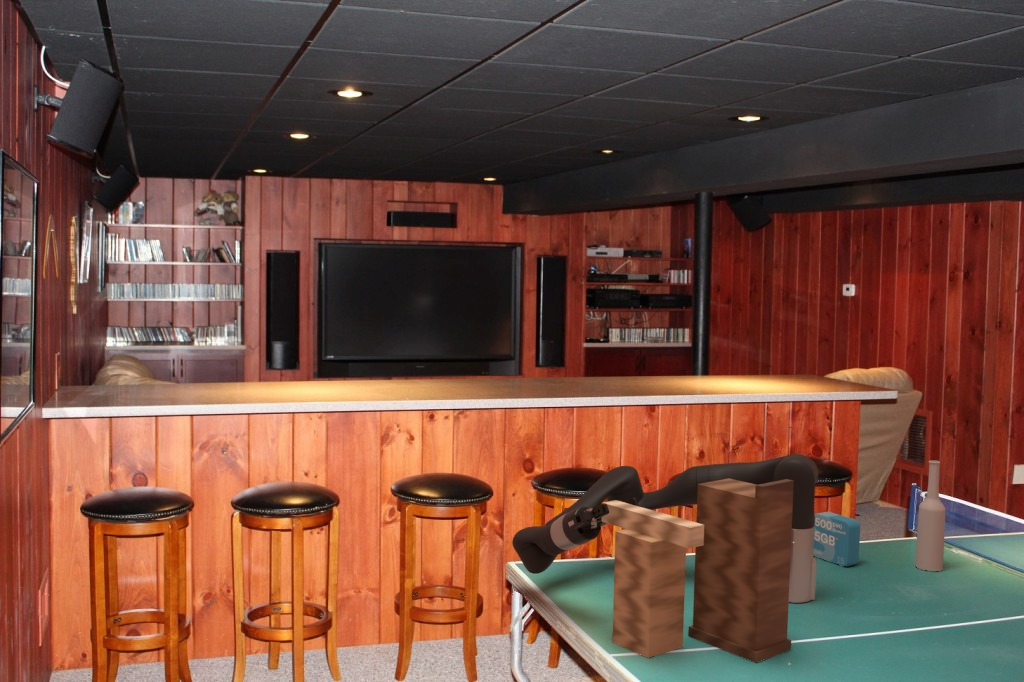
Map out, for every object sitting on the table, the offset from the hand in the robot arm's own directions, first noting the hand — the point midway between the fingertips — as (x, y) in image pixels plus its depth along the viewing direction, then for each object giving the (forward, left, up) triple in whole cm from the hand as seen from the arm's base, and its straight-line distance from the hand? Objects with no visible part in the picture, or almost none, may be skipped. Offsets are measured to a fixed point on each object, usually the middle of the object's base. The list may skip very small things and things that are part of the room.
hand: (621, 505), depth 203 cm
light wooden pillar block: (-4, +7, -27) cm, 28 cm away
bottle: (-92, -36, -27) cm, 103 cm away
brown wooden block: (-4, +7, -4) cm, 9 cm away
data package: (-70, -44, -27) cm, 87 cm away
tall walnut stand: (-23, +8, -27) cm, 37 cm away
